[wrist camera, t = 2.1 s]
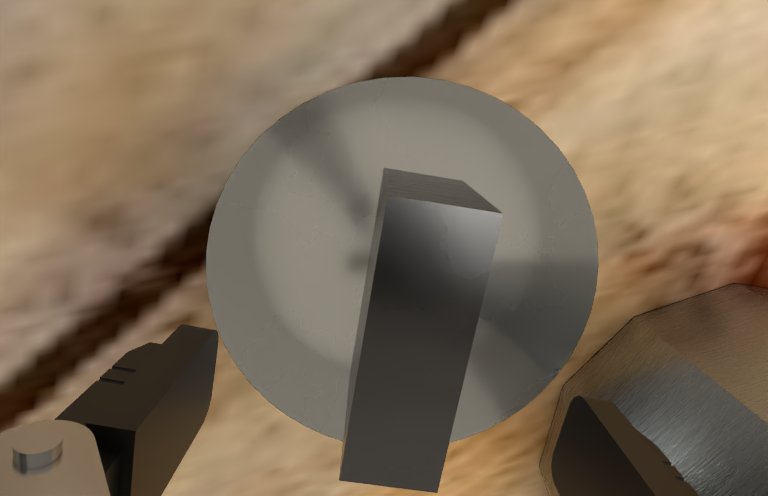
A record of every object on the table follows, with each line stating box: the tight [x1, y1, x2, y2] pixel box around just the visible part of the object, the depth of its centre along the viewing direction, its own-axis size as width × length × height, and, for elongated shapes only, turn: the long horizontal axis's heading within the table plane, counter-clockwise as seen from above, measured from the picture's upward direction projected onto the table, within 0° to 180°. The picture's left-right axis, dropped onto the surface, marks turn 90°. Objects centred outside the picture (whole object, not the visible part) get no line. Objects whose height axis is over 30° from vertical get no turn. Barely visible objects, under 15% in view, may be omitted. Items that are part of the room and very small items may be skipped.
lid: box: [206, 77, 598, 493], centre depth 14 cm, size 12×12×6 cm
